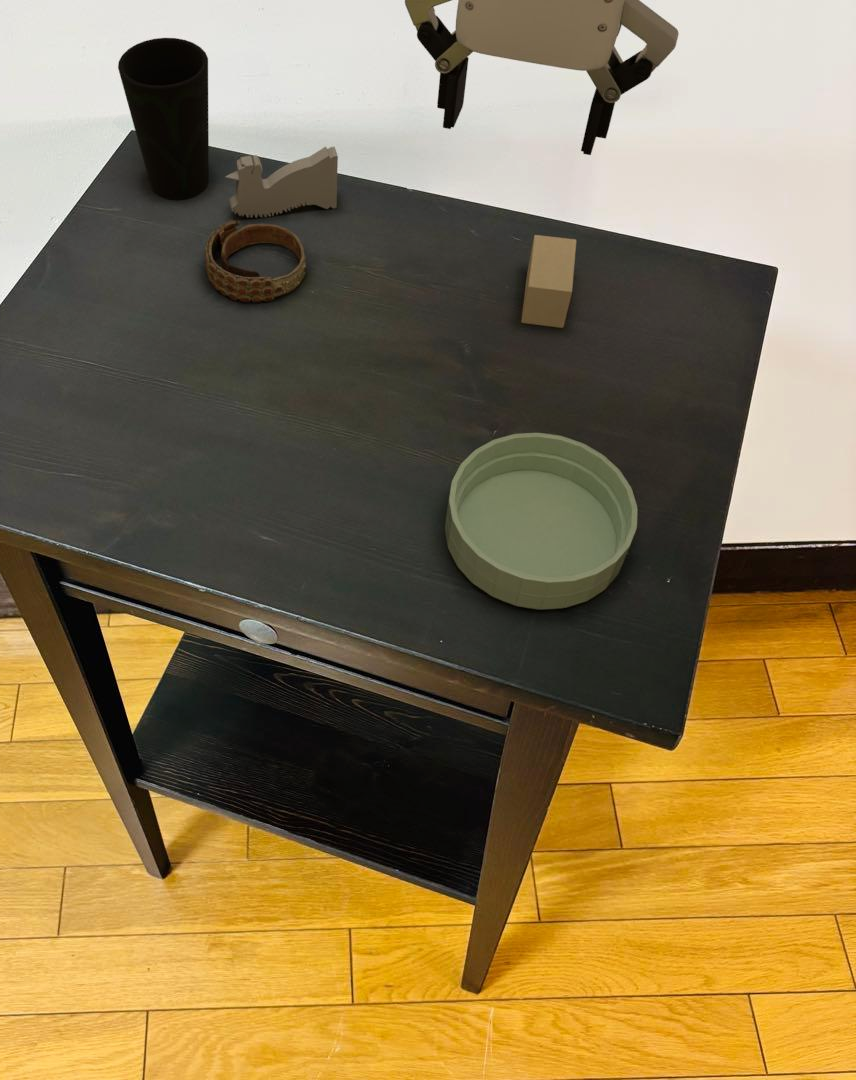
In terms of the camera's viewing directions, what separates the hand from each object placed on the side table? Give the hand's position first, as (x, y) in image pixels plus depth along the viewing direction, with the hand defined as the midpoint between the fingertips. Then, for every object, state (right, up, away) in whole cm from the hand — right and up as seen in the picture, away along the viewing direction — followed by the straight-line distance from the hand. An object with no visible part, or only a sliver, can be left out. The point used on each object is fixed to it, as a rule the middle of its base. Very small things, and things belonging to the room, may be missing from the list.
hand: (520, 130), depth 74 cm
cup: (-27, +5, +27) cm, 38 cm away
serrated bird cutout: (-17, +2, +24) cm, 30 cm away
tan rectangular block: (+5, -8, +17) cm, 19 cm away
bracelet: (-19, -5, +19) cm, 28 cm away
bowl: (+1, -28, +3) cm, 28 cm away
